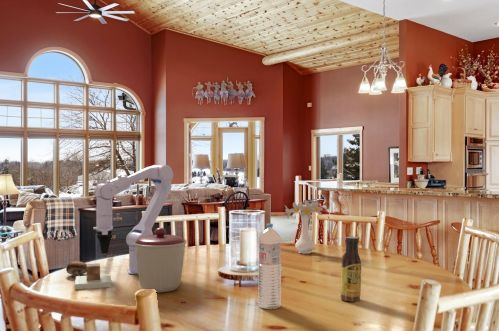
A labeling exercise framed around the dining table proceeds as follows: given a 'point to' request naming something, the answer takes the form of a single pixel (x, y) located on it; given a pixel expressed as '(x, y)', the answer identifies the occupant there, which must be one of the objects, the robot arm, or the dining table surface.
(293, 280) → the dining table surface
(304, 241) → the flower vase
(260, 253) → the water bottle
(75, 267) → the mushroom
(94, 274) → the walnut block
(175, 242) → the canister
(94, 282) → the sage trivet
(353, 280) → the sauce bottle
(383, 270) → the dining table surface
